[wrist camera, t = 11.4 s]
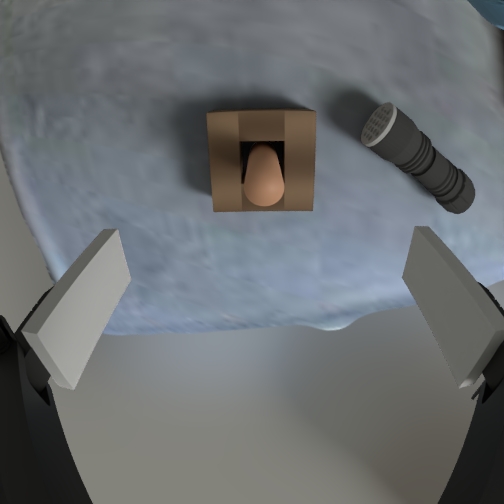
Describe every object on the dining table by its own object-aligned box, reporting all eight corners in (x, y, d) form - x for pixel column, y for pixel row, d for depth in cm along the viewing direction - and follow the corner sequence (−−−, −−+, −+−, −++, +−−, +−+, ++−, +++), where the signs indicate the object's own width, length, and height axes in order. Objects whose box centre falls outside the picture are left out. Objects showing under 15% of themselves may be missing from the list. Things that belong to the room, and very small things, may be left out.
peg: (248, 141, 30) (242, 169, 20) (275, 140, 30) (283, 167, 20) (250, 166, 32) (245, 207, 21) (276, 165, 32) (284, 205, 21)
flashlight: (462, 175, 31) (486, 190, 26) (441, 207, 33) (462, 225, 29) (379, 100, 27) (400, 104, 23) (355, 139, 30) (372, 149, 25)
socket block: (212, 110, 29) (206, 113, 25) (309, 109, 28) (316, 111, 25) (218, 198, 34) (213, 212, 30) (307, 197, 33) (312, 210, 30)
